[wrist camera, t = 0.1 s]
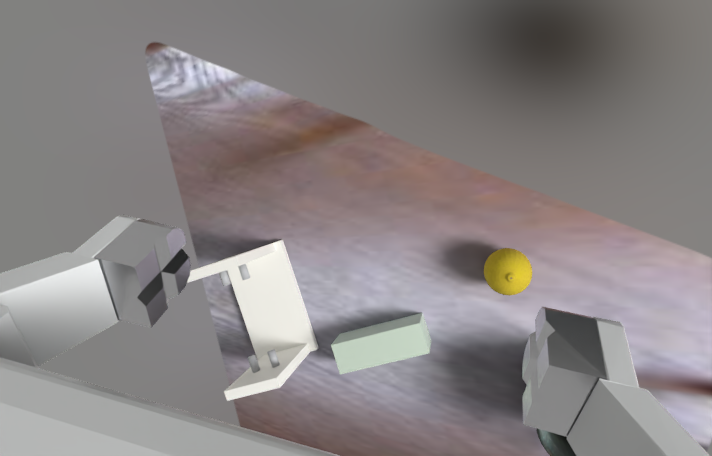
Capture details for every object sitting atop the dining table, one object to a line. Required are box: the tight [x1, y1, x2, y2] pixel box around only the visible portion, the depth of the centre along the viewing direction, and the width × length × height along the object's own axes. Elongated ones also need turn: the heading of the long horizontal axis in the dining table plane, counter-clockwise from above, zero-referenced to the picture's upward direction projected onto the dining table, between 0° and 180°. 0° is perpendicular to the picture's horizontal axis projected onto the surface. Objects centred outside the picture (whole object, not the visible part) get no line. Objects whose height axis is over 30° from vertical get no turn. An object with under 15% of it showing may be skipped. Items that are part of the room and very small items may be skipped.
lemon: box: [484, 248, 532, 295], centre depth 59 cm, size 6×6×8 cm
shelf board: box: [331, 313, 431, 374], centre depth 65 cm, size 12×4×5 cm, turn 108°
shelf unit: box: [187, 240, 319, 401], centre depth 64 cm, size 16×9×13 cm, turn 18°
